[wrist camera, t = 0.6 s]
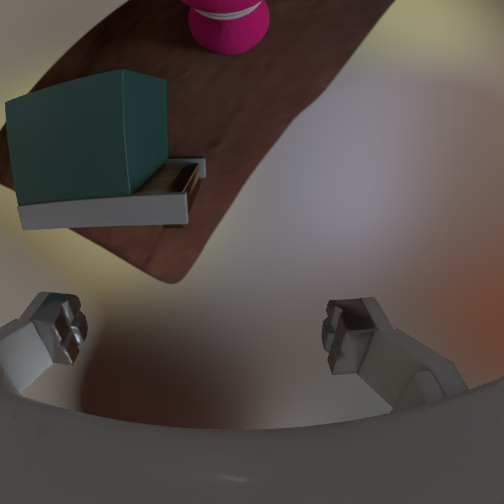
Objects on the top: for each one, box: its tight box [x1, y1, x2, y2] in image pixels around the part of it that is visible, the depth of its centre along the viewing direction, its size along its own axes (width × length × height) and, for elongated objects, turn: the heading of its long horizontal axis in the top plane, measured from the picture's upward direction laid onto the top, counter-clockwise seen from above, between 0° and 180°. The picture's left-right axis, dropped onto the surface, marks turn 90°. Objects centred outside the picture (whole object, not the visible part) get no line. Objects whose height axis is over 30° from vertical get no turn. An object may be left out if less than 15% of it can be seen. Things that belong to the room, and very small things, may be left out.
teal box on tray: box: [5, 69, 206, 230], centre depth 23 cm, size 11×15×13 cm
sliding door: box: [134, 163, 200, 228], centre depth 26 cm, size 2×7×11 cm, turn 89°
